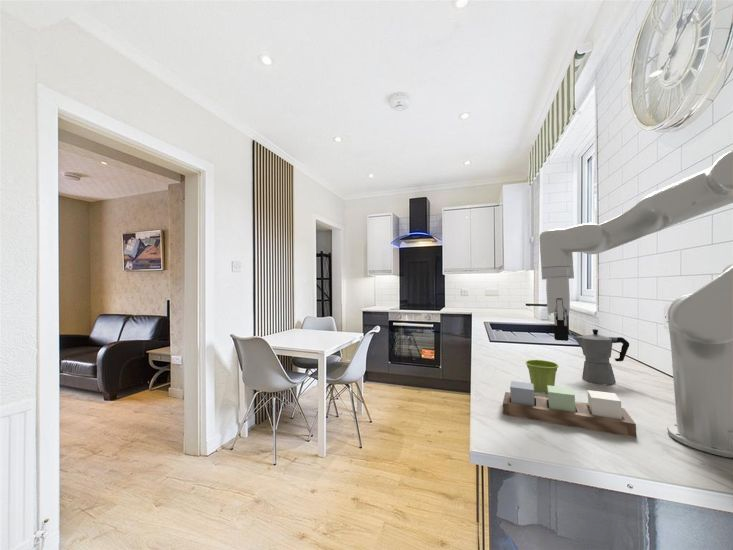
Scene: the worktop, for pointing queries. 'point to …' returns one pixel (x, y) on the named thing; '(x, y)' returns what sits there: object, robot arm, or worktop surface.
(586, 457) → the worktop surface
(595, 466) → the worktop surface
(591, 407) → the white button
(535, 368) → the plant pot
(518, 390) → the grey button
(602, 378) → the coffeepot
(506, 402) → the button housing
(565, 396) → the sage button
